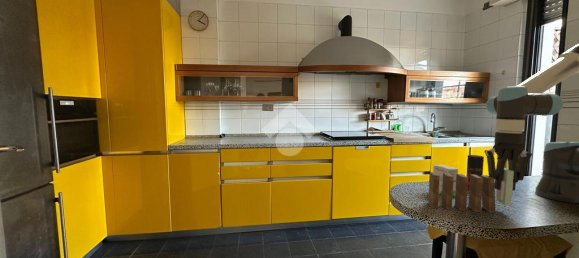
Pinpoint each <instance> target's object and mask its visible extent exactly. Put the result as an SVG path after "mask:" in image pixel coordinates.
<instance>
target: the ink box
mask: <svg viewBox="0 0 579 258" xmlns="http://www.w3.org/2000/svg"><path fill="white" fill-rule="evenodd" d="M432 172H435V173H437V174H438V175H439V176H440V179H439V195H441V196H442V183H443V173H449V174H450V175H452V176H454V181H453V198H455V191H456V174H459V169H458V168H456V167H452V166H449V165H448V166H447V165H444V164H434V165H433V170H432Z"/></svg>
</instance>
